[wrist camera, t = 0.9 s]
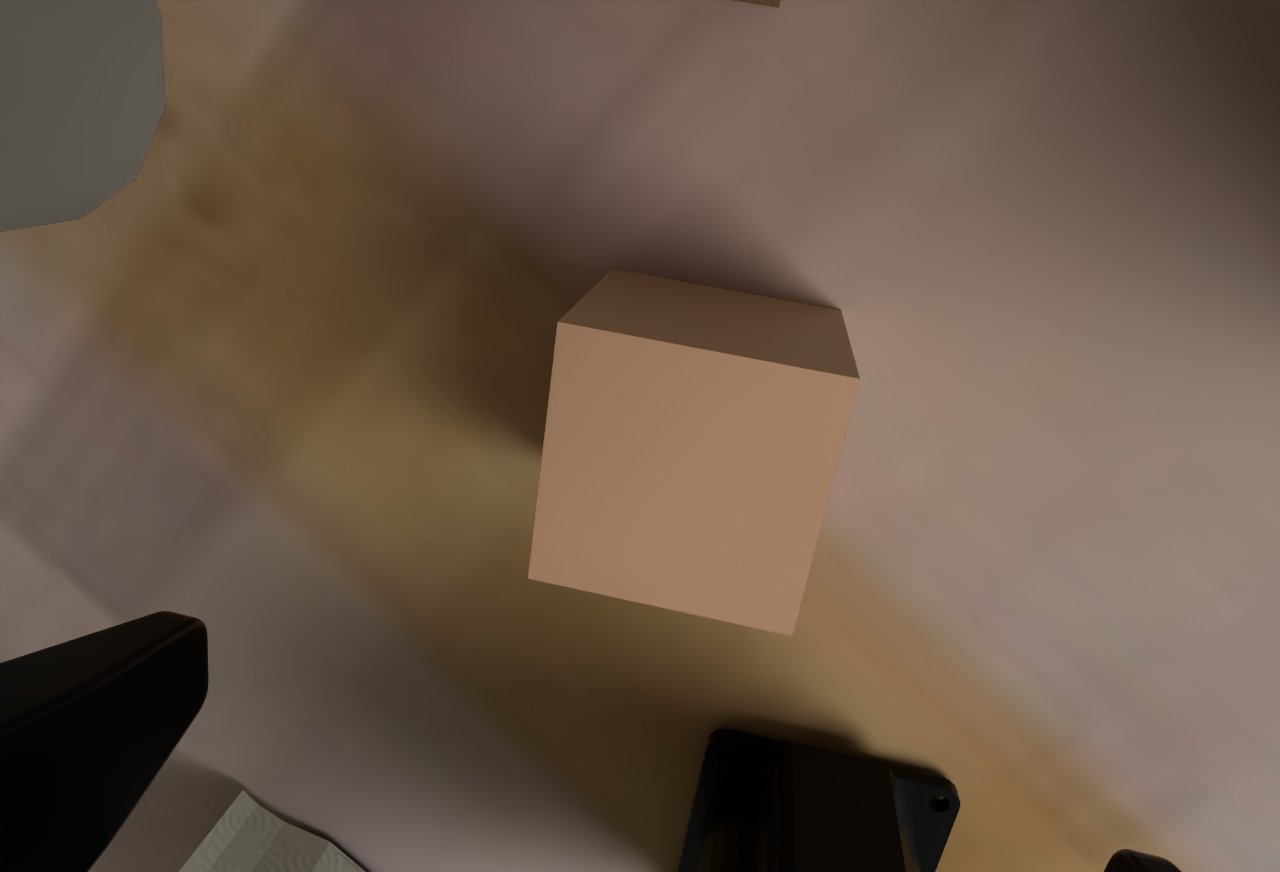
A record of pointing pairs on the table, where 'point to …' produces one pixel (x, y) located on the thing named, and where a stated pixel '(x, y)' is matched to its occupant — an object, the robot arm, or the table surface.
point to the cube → (691, 447)
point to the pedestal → (763, 2)
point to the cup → (75, 104)
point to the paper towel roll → (263, 845)
